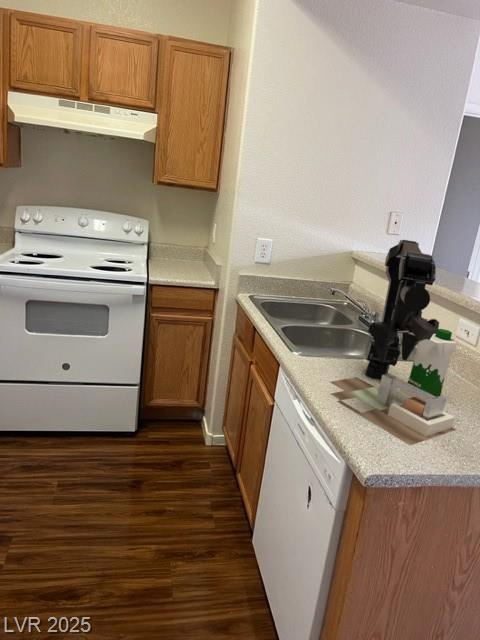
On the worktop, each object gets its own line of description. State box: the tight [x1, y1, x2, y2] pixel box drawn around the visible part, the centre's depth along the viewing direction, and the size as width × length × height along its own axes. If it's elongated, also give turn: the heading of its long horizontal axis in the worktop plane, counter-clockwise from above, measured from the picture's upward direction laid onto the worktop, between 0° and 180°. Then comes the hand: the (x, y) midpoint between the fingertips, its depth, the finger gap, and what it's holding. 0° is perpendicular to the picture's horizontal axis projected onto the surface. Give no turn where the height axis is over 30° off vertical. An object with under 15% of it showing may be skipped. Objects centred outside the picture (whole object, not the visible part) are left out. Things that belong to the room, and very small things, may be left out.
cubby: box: [388, 403, 456, 436], centre depth 119 cm, size 11×11×3 cm
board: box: [329, 376, 457, 446], centre depth 125 cm, size 19×32×2 cm, turn 35°
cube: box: [404, 396, 426, 418], centre depth 120 cm, size 5×5×5 cm
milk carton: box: [407, 328, 458, 397], centre depth 137 cm, size 9×9×20 cm
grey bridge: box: [376, 372, 448, 421], centre depth 122 cm, size 6×16×8 cm, turn 35°
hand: (393, 361), depth 125 cm, fingers open, 9 cm apart
